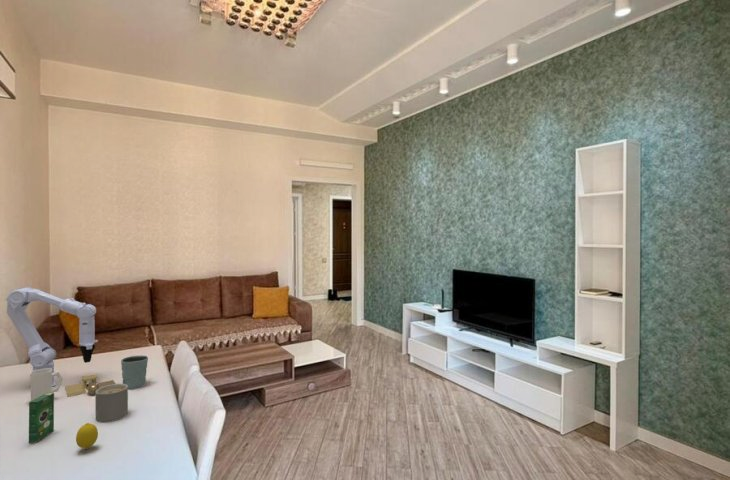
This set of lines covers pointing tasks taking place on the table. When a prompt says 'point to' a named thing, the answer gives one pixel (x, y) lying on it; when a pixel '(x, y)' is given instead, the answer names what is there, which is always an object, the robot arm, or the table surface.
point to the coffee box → (41, 417)
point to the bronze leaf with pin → (97, 386)
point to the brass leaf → (79, 386)
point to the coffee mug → (111, 402)
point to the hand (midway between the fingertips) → (87, 362)
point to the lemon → (86, 435)
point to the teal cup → (134, 371)
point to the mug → (43, 382)
